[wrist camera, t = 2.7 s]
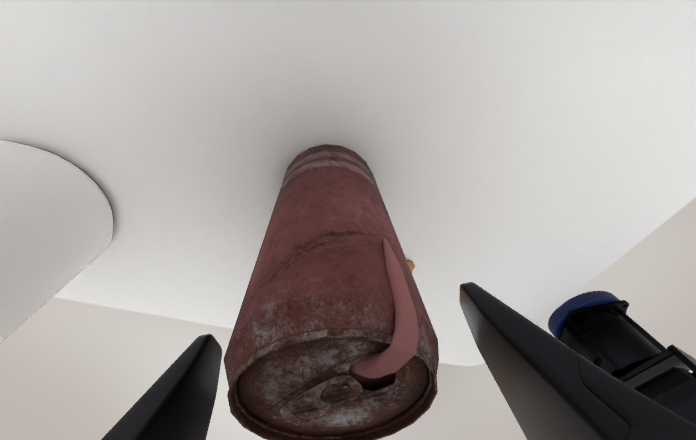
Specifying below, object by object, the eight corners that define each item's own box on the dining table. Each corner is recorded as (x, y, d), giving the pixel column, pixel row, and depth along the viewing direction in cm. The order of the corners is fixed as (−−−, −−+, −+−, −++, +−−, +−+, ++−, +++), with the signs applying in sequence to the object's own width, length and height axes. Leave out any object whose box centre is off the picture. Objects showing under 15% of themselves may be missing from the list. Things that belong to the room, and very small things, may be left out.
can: (390, 161, 19) (510, 357, 7) (349, 234, 21) (380, 465, 9) (305, 122, 17) (256, 288, 5) (272, 206, 20) (190, 445, 8)
